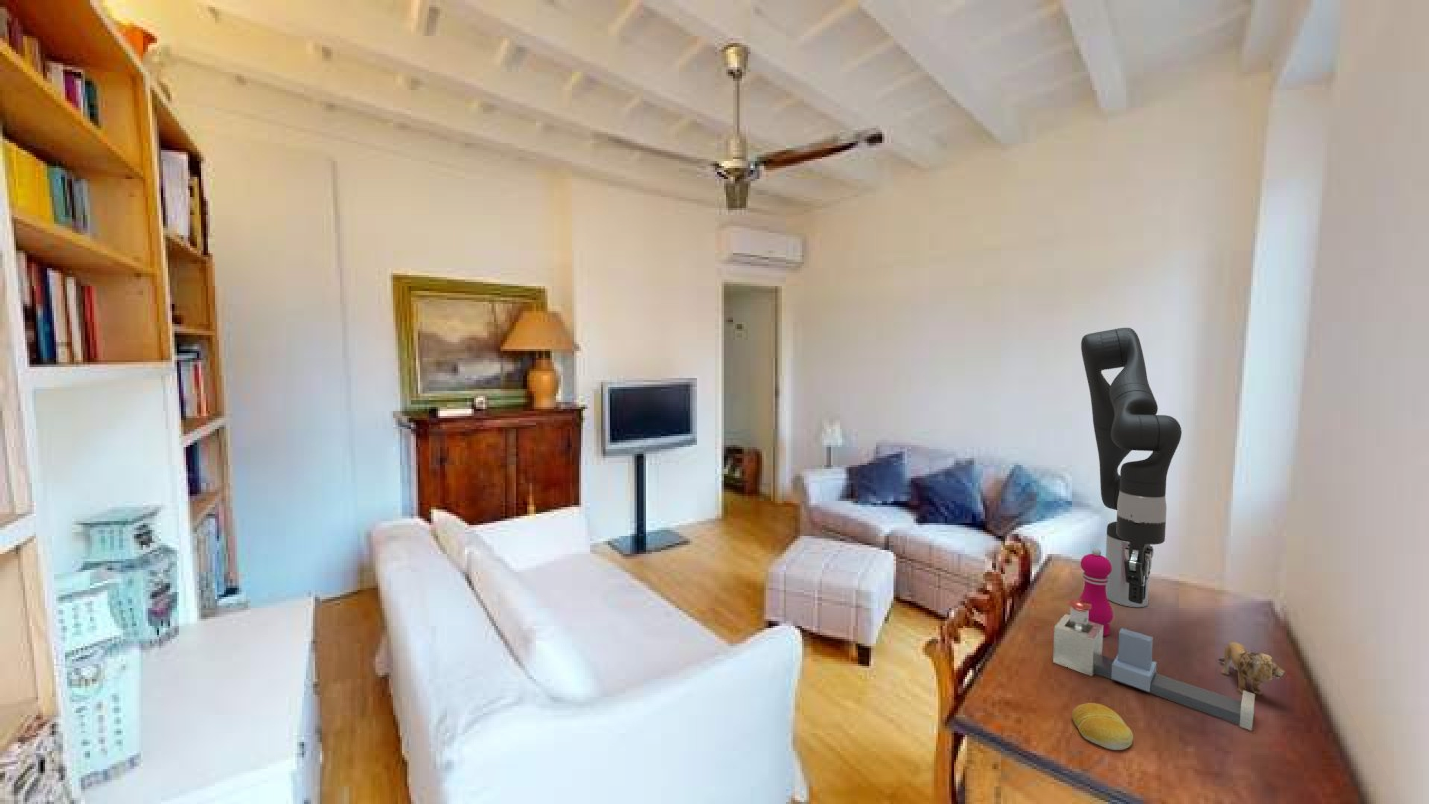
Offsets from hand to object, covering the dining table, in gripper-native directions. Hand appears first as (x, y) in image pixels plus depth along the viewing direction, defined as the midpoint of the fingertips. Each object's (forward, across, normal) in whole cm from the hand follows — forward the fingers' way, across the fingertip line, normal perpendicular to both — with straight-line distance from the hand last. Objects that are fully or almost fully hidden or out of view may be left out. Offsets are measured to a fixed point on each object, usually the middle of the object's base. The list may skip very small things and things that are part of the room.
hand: (1136, 599), depth 105 cm
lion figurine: (+17, -14, +16) cm, 27 cm away
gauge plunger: (+10, 0, -10) cm, 13 cm away
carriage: (+17, 0, 0) cm, 17 cm away
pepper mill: (+17, -18, -10) cm, 27 cm away
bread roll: (+18, +22, -1) cm, 28 cm away
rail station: (+17, 0, +2) cm, 17 cm away
